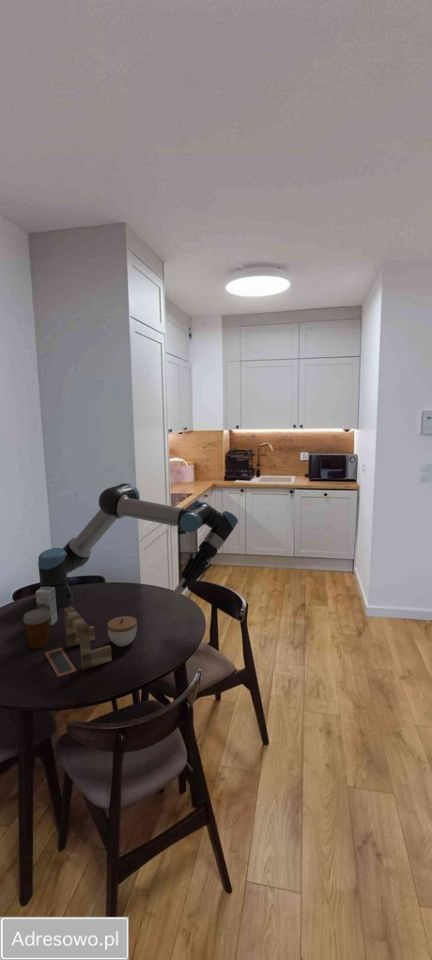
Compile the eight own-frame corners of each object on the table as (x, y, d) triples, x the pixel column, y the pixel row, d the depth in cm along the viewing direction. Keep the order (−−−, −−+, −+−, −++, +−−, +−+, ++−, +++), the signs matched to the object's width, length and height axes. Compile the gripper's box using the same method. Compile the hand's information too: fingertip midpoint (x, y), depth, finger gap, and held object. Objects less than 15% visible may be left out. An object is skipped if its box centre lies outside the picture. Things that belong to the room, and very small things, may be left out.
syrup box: (58, 619, 187) (55, 586, 185) (51, 626, 181) (48, 592, 179) (44, 619, 187) (42, 586, 185) (37, 626, 182) (34, 591, 179)
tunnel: (66, 646, 165) (63, 608, 163) (93, 638, 171) (91, 601, 169) (82, 669, 150) (80, 628, 148) (111, 660, 155) (109, 620, 153)
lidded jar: (127, 632, 175) (126, 609, 173) (143, 641, 167) (142, 618, 166) (102, 642, 167) (101, 618, 166) (118, 653, 160) (117, 628, 158)
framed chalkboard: (44, 653, 161) (44, 652, 161) (61, 648, 164) (61, 647, 164) (57, 677, 146) (57, 676, 146) (76, 671, 149) (76, 670, 149)
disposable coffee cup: (30, 653, 161) (27, 622, 159) (21, 643, 168) (18, 613, 166) (57, 644, 167) (54, 613, 165) (47, 635, 174) (44, 605, 172)
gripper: (225, 554, 181) (190, 604, 174) (208, 546, 192) (174, 593, 185) (214, 543, 177) (178, 594, 171) (196, 536, 188) (162, 583, 181)
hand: (176, 593), depth 178 cm, fingers closed
